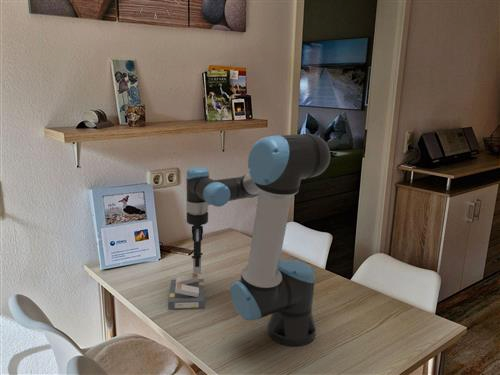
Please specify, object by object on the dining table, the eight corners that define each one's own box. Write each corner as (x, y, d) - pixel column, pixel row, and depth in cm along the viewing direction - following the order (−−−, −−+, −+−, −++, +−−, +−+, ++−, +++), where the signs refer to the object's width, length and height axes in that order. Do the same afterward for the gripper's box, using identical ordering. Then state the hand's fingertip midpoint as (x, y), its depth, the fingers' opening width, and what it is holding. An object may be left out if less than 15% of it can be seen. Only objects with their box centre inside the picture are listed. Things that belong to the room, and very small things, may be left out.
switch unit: (204, 308, 151) (204, 298, 150) (168, 310, 149) (168, 299, 148) (203, 286, 166) (203, 276, 165) (171, 287, 165) (171, 277, 164)
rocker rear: (198, 281, 159) (197, 276, 159) (177, 286, 159) (175, 282, 158) (198, 276, 163) (197, 271, 162) (177, 281, 162) (176, 277, 162)
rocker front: (197, 297, 152) (199, 292, 152) (174, 292, 150) (176, 288, 150) (197, 291, 156) (198, 287, 155) (175, 286, 154) (176, 282, 154)
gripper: (208, 217, 149) (207, 281, 155) (207, 206, 161) (206, 265, 167) (186, 217, 148) (186, 282, 154) (186, 206, 160) (186, 265, 166)
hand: (197, 273), depth 160 cm, fingers closed
